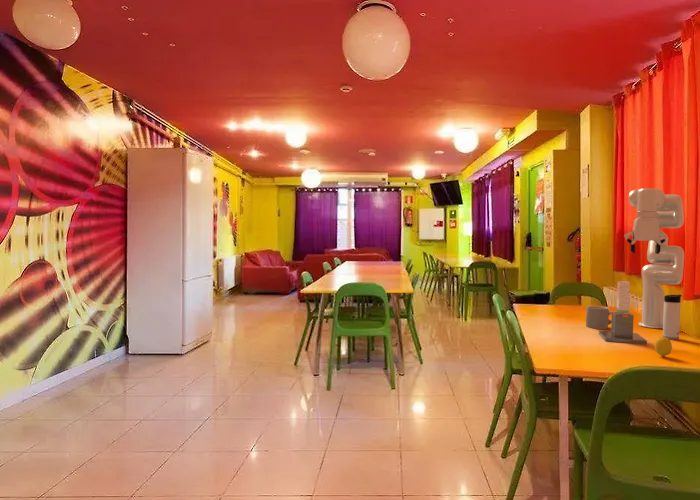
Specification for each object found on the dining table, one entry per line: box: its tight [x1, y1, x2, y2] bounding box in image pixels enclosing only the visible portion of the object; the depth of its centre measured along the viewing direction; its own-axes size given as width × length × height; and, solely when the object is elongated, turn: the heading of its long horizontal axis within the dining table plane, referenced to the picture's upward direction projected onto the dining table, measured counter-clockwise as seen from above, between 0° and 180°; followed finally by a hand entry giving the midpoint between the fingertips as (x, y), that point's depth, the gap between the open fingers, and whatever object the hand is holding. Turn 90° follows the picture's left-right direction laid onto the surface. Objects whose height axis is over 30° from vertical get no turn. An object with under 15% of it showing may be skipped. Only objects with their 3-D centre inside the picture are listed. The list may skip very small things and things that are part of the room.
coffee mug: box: [585, 305, 613, 330], centre depth 247 cm, size 13×10×10 cm
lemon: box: [654, 335, 673, 358], centre depth 190 cm, size 6×6×8 cm
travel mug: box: [662, 294, 683, 341], centre depth 223 cm, size 6×7×20 cm
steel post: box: [616, 280, 631, 315], centre depth 221 cm, size 4×4×18 cm
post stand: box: [598, 311, 648, 345], centre depth 221 cm, size 16×16×12 cm
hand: (645, 253), depth 224 cm, fingers open, 9 cm apart
